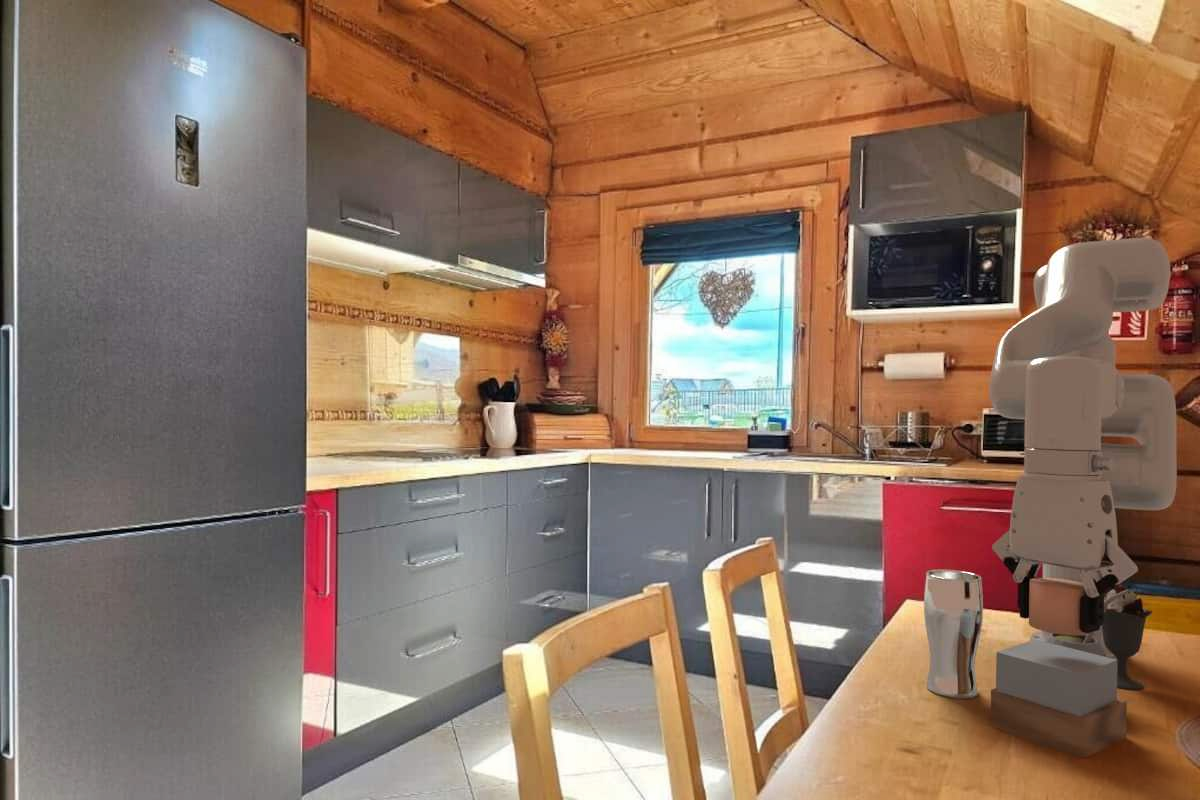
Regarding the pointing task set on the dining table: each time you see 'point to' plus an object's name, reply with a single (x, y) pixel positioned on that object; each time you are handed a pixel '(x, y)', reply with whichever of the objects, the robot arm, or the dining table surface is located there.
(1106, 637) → the sundae
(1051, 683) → the slate top block
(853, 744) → the dining table surface
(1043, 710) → the walnut base block
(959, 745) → the dining table surface
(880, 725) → the dining table surface
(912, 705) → the dining table surface
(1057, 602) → the peach rounded cylinder
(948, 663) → the beer glass
